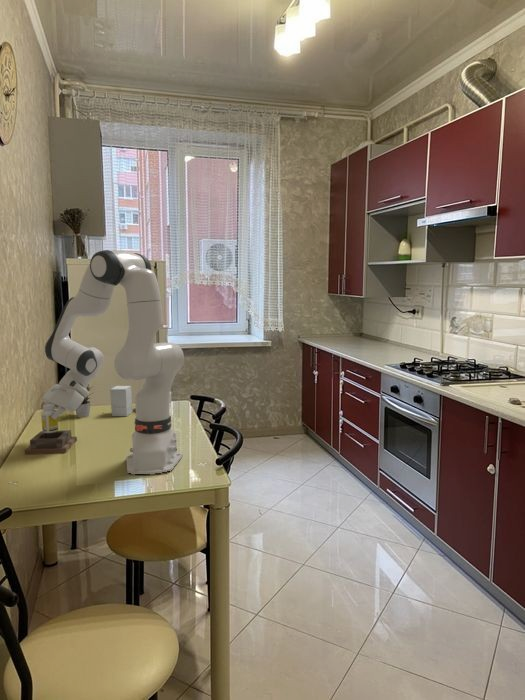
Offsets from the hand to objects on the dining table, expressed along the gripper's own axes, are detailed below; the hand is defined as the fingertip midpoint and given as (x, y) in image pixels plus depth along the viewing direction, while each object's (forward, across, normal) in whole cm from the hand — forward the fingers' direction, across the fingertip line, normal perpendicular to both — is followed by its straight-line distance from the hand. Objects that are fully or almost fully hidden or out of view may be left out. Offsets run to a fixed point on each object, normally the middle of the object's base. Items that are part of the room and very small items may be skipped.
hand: (47, 416), depth 180 cm
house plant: (-13, -33, +30) cm, 46 cm away
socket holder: (+8, 0, +9) cm, 12 cm away
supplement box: (-22, -20, +39) cm, 49 cm away
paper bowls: (-33, -16, +50) cm, 62 cm away
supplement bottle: (+4, 0, +4) cm, 6 cm away
